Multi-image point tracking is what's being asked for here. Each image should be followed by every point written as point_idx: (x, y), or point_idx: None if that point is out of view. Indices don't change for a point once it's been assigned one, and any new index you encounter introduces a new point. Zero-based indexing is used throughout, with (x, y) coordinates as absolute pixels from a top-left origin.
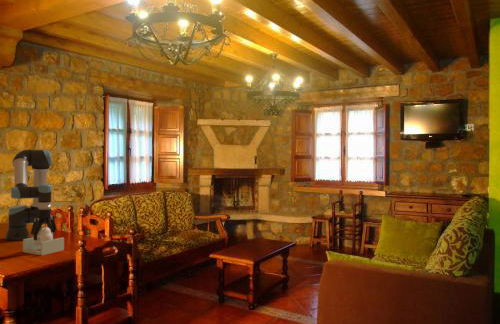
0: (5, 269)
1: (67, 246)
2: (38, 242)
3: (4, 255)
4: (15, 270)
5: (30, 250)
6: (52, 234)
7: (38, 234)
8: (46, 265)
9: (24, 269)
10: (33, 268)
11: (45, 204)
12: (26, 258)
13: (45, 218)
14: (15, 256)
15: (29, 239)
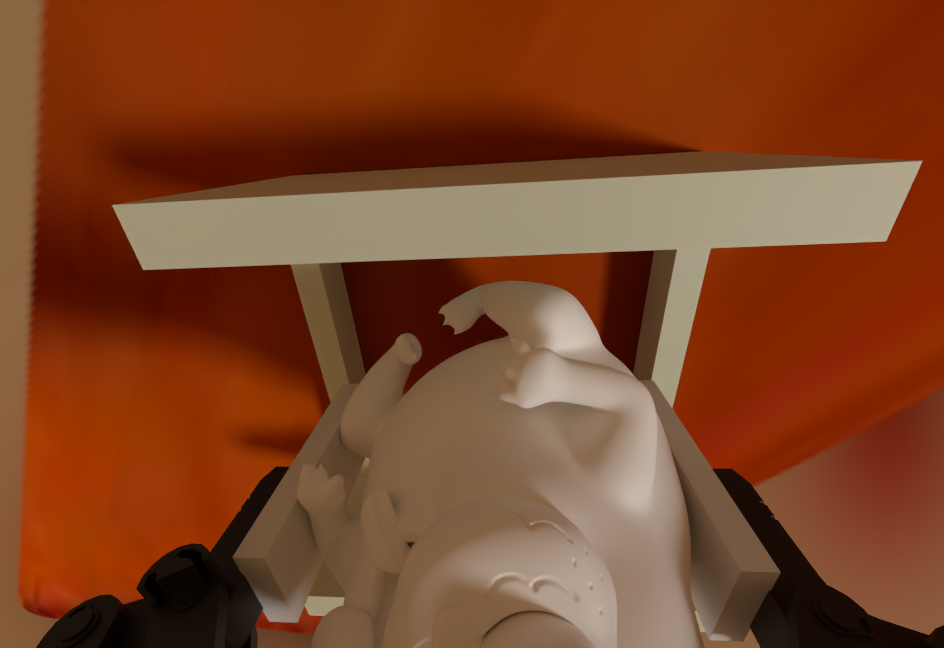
0: (26, 541)
1: (827, 382)
2: (358, 470)
3: (36, 141)
4: (81, 585)
5: (314, 339)
6: (691, 573)
7: (377, 521)
8: (259, 626)
9: (130, 601)
10: None
11: None
12: (220, 444)
13: None
14: (152, 305)
15: (287, 259)
